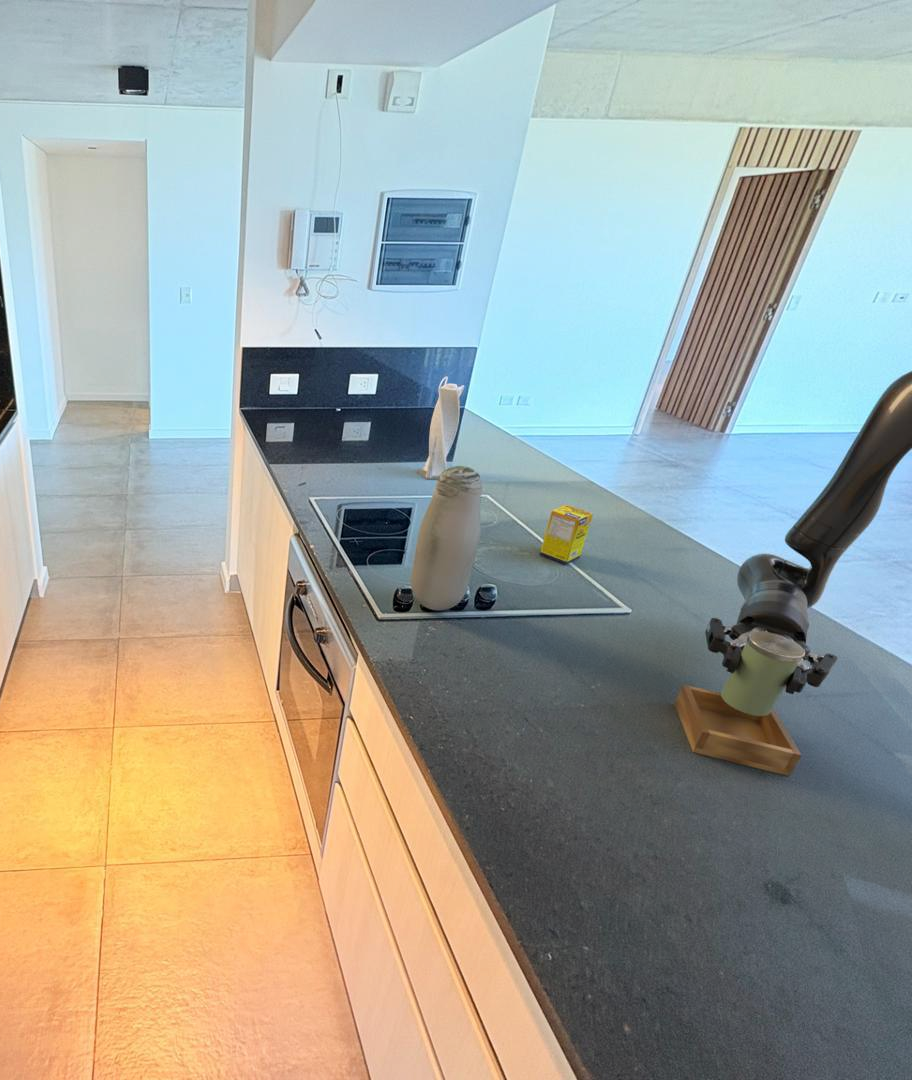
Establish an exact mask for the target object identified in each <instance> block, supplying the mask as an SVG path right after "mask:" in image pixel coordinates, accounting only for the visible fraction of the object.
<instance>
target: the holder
mask: <svg viewBox="0 0 912 1080" xmlns="http://www.w3.org/2000/svg"><path fill="white" fill-rule="evenodd" d="M673 705H674V708H675V710H676V713H677V715H678V718H679V721H680V723H681V725H682V727H683V731H684V733H685V736H686V738H687V741H688V743H689V746H690V749H691V750H692V753H694V754H699V755H703V756H708V757H709V758H710V757H711V758H715V759H718V760H723V761H727V762H731V763H734V764H739V765H742V766H747V767H751V768H755V769H759V770H761V771H762V770H763V771H766V772H770V773H775V774H778V775H783V776H786V777H790V775H791V774H792V772H793V771H794V769H795V768H796V766H797V764H798V763H799V760H800V759H801V757H802V753H801V751H800V750H799V748H798V746H797V745H796V743H795V742H794V740H793V738H792V737H791V734H790V733H789V731H788V730H787V728H786V726H785V725H784V722H783V721H782V719H781V718H780V716H779V715H778V713H777V711H776V710H775V708H774V707H773V709H772V711H771V713H770V714H768V715H766V716H755V715H750V714H747V713H744V712H741V711H739V710H737V709H735V708H733V707H732V706H730V705H729V704H727V703H726V702H725V701H724V700H723V699H722V697H721V692H719V691H714V690H710V689H706V688H701V687H696V686H691V685H687V684H682V686H681V688H680V690H679V692H678V694H677V697H676V699H675V701H674V703H673Z"/></svg>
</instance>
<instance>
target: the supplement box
mask: <svg viewBox="0 0 912 1080" xmlns="http://www.w3.org/2000/svg"><path fill="white" fill-rule="evenodd" d="M550 513H551V514H550V516H549V520H548V523H547V526H546V529H545V534H544V538H543V541H542V545H541V549H540V552H539V556H542V557H545V558H548V559H549V560H552V561H555V562H558V563H560V564H563V565H565V566H566V565H568V564H570V563H572V562H574V561H576V560H578V559H580V557H581V554H582V552H583V547H584V545H585V542H586V539H587V535H588V532H589V529H590V526H591V523H592V519H593V515H594V513H593V512H590V511H587V510H583V509H580V508H577V507H574V506H571V505H568V504H564V505H562V506H559V507H557V508H555V509H552V510H551V512H550Z"/></svg>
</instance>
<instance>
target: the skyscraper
mask: <svg viewBox="0 0 912 1080" xmlns="http://www.w3.org/2000/svg"><path fill="white" fill-rule="evenodd" d="M448 379H449V377H448V375H447V376H444V377H442V380H440V383H439V384H438V389H437V390H438V399H437V401H436V403H435V406H434V409H433V413H432V416H431V421H430V427H429V438H428V457H427V459H426V461H425V464H424V466H423V468H422V469H416V472H417V473H418V474H419V475H420V476H422V477H423V478H424V479H426V481H429V480H438V478H439V476H440V475H441V473H442V472H443V471H445V470H446V469H448V464H447V457H448V455H449V453H450V451H451V449H452V446H453V444H454V441H455V438H456V436H457V432H458V429H459V423H460V414H461V413H460V411H461V409H460V407H461V406H460V405H461V402H460V397H461V396H462V393H463V391H464V390H465V387H466V386H465V385H464V384H462V385H460V386H458V384H456V383H448ZM443 382H444V385H443ZM442 385H443V386H442Z"/></svg>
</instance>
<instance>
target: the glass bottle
mask: <svg viewBox="0 0 912 1080" xmlns="http://www.w3.org/2000/svg"><path fill="white" fill-rule="evenodd" d="M482 491H483V482H482V478H481V476H480V474H479V472H477V471H476V470H475V469H474V468H472V467H469V466H463V465H455V466H450V467H447V469H446V470H445V471H443V472H442V473H441V475H440V476H439V478H438V479H436V483H435V487H434V490H433V492H432V497H431V499H430V502H429V504H428V506H427V508H426V511H425V513H424V515H423V517H422V520H421V522H420V526H419V530H418V534H417V539H416V544H415V545H416V546H415V552H414V557H413V562H412V563H413V565H412V570H411V576H410V587H411V592H412V595H413V596H414V599H415V600H416V601H417V603H419V605H421V606H422V607H424V608H427V609H429V610H432V611H447V610H450V609H452V608H454V607H455V606H457V605H458V604H459V603H460V602H461V601H462V600H463V598H464V596H465V595H466V593H467V590H468V587H469V584H470V580H471V576H472V572H473V567H474V564H475V560H476V557H477V553H478V548H479V544H480V541H481V534H482V521H481V519H482V518H481V500H482Z"/></svg>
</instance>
